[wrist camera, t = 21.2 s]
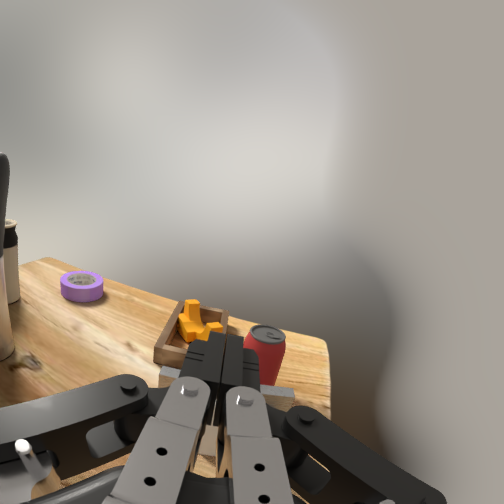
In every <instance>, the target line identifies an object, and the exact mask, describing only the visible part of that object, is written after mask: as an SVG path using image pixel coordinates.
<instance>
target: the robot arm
mask: <svg viewBox="0 0 504 504" xmlns="http://www.w3.org/2000/svg"><path fill="white" fill-rule="evenodd" d="M9 169H10V168H9V161H8V158H7V156H6V155H5V154H4V153H1V152H0V360H3V359H5V358H7V357H8V356H10V355H11V354H12V352H13V351H14V347H15V345H14V339H13V334H12V329H11V323H10V317H9V310H8V303H7V294H6V285H5V274H4V258H3V242H4V233H5V213H6V203H7V195H8V186H9V175H10V170H9ZM225 338H226V334H225V333H220V332H215V331H210V333H209V337H208V341H204V340H199V339H195V340H194V341H193V342H191V343H190V344H189V347H188V350H187V353H186V356H185V359H184V362H183V365H182V368H181V371H180V374H179V377H178V378H177V379H175V380H174V381H173V382H172V383H171V385H170V386H168V387H165V388H148V385H147V384H146V382H145V381H144V380H143V379H141V378H140V377H137V376H135V375H130V374H122V375H118V376H115V377H111V378H108V379H105V380H102V381H99V382H96V383H92V384H89V385H86V386H82V387H79V388H76V389H72V390H69V391H65V392H62V393H58V394H54V395H51V396H47V397H43V398H39V399H36V400H32V401H28V402H23V403H19V404H15V405H11V406H6V407H2V408H0V504H306V503H305V502H304V501H303V500H301V499H300V498H298V497H297V496H295V495H293V494H292V493H291V488H292V489H293V490H294V491H295V492H297V493H298V494H299V495H300V496H301V497H302V498H304V499H305V500H306V501H307V502H308V503H310V504H447V502H446V499H445V497H444V495H443V494H442V493H441V492H439V491H438V490H436V489H435V488H433V487H431V486H429V485H428V484H426V483H424V482H422V481H421V480H418V479H417V478H416V477H414V476H412V475H411V474H409V473H407V472H405V471H404V470H402V469H401V468H399V467H397V466H396V465H394V464H393V463H391V462H390V461H388V460H387V459H385V458H384V457H382V456H380V455H379V454H377V453H376V452H374V451H373V450H371V449H370V448H368V447H367V446H366V445H364V444H363V443H361V442H360V441H358V440H357V439H355V438H354V437H352V436H351V435H350V434H348V433H347V432H345V431H344V430H343V429H341V428H340V427H338V426H337V425H336V424H334V423H333V422H332V421H330V420H329V419H327V418H326V417H325V416H323V415H322V414H321V413H319V412H318V411H317V410H315V409H313V408H310V407H307V406H295V407H292V408H290V409H289V410H288V411H287V412H285V411H282V410H279V409H276V408H273V407H271V406H270V405H268V404H267V403H266V402H265V398H264V396H263V395H262V394H261V391H260V373H259V357H258V355H257V354H256V352H255V351H254V349H248V348H243V342H244V337H242V336H236V335H231V334H227V338H226V343H225ZM224 345H225V348H224ZM223 352H224V353H223ZM215 402H216V405H215ZM214 408H215V412H214ZM213 413H214V420H213V426H216V427H218V434H217V438H216V478H206V477H203V476H200V475H197V474H195V473H193V471H194V467H195V463H196V460H197V456H198V452H199V449H200V445H201V441H202V436H203V435H204V434H205V430H206V425H210V426H211V423H212V418H213ZM128 453H131V454H130V456H129V458H128V460H127V462H126V464H125V465H123V466H117V467H113V468H110V469H107V470H105V471H102V472H100V473H98V474H96V475H94V476H91V477H89V478H87V479H84V480H82V481H80V482H77V483H75V484H73V485H70V486H68V487H65V488H63V489H60V490H59V488H60V485H61V480H64V479H67V478H70V477H72V476H75V475H78V474H81V473H83V472H86V471H88V470H91V469H93V468H96V467H98V466H101V465H103V464H106V463H108V462H110V461H113V460H115V459H117V458H120V457H122V456H124V455H126V454H128ZM308 454H310V455H311V456H312V457H313V458H315V459H316V460H317V461H318V462H320V463H321V464H322V465H323V466H325V467H326V468H327V469H328V470H329V471H330V472H328V471H327V470H326V469H324V468H323V467H322V466H321V465H319V464H318V463H317V462H316V461H314V460H313V459H312V458H311V457H309V456H308ZM290 487H291V488H290Z"/></svg>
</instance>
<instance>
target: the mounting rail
mask: <svg viewBox="0 0 504 504" xmlns="http://www.w3.org/2000/svg"><path fill="white" fill-rule="evenodd" d="M180 371H181V370H179V369H174V368H170V367H166V366H162V368H161V371H160V373H159V386H158V388H165V387H168V386H170V385H171V383H172V382H173V381H174V380H175V379H177V378H178V377H179V374H180ZM260 391H261V394H262V395H263V396H264V398H265V402H266V403H267V404H268V405H270V406H271V407H273V408H276V409H279V410H282V411H285V412H287V411H288V410H289V409H290V408H291V406H292V404H293V401H294V398H295V395H294V390H293V388H285V387H277V386H269V385H261V384H260Z"/></svg>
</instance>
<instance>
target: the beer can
mask: <svg viewBox="0 0 504 504" xmlns="http://www.w3.org/2000/svg"><path fill="white" fill-rule="evenodd" d="M285 338H286V336H285V334H284V333H283V332H282V331H281V330H279V329H278V328H276V327H273V326H269V325H255V326H253V327H252V328H251V329H250V332H249V333H248V335H247V336H246V338H245V341H244V344H243V348H248V349H254V351H255V352H256V354H257V355H258V357H259V373H260V384H261V385H269V386H274V385H275V382H276V379H277V375H278V372H279V369H280V366H281V363H282V360H283V356H284V353H285V347H286V344H285Z"/></svg>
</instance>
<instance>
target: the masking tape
mask: <svg viewBox="0 0 504 504" xmlns="http://www.w3.org/2000/svg"><path fill="white" fill-rule="evenodd" d="M60 283H61V294H62V296H63V297H65V298H66V299H68V300H71V301H75V302H91V301H95V300H98V299H99V298H101V297H102V295H103V278H102V277H101V276H100V275H98V274H96V273H92V272H88V271H73V272H69V273H66V274H64V275H63V276H62V277H61V279H60Z"/></svg>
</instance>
